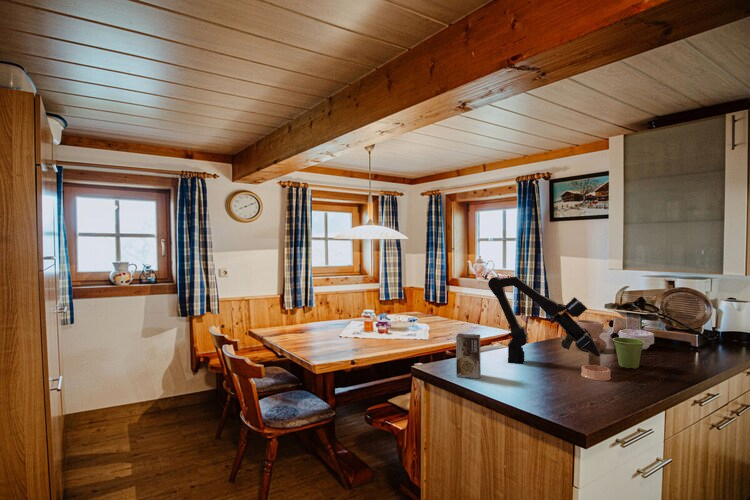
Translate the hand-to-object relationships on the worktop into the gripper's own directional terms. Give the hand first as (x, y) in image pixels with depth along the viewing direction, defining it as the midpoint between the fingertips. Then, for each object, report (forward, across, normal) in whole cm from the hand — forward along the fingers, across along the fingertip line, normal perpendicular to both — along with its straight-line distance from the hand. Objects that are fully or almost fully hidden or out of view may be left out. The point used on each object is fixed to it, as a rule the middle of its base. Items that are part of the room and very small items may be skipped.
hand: (597, 353), depth 172 cm
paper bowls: (+21, -54, +10) cm, 58 cm away
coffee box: (-29, +28, -39) cm, 56 cm away
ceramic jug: (+5, -38, -6) cm, 39 cm away
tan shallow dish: (+4, +9, -6) cm, 12 cm away
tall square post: (+4, 0, -6) cm, 7 cm away
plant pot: (+14, -12, +4) cm, 19 cm away
